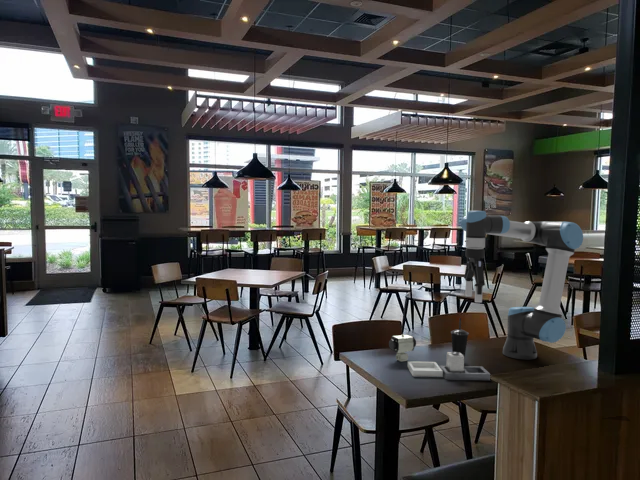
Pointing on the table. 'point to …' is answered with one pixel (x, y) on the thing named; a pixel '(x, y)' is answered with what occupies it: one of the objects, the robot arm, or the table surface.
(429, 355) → the table surface
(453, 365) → the white block
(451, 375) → the gray divided tray
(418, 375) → the tray
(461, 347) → the drinking cup
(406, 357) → the pneumatic valve
